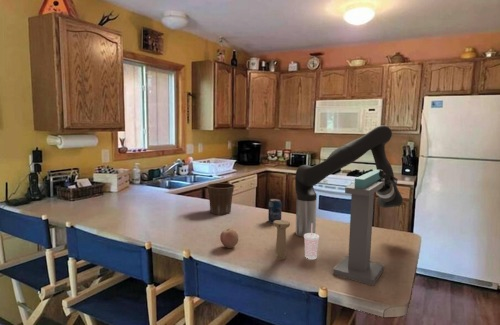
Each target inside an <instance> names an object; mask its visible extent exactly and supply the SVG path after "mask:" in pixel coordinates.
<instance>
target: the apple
mask: <svg viewBox="0 0 500 325" xmlns="http://www.w3.org/2000/svg"><path fill="white" fill-rule="evenodd" d="M219 236H220V242H221V244H222V246H224V247H225V248H228V249H232V248H233V247H235V246H236V245H237V244H238V243H239V234H238V232H237V230H235V229H234V228H231V227H230V228H227V229H225V230H223V231H221V233H220V235H219Z"/></svg>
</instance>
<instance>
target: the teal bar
mask: <svg viewBox="0 0 500 325" xmlns="http://www.w3.org/2000/svg"><path fill="white" fill-rule="evenodd" d="M382 171H383V170H382ZM367 172H368V173H367ZM367 172H366V173H364V174H362V175H360V176H358V177H356V178H354V183H355V186H354V187H356V188H365V187H367V186H369V185H370V184H372V183H374V182H376V181H377V180H379V179H381V178H380V176H379V170H377V168H376V169H373V171H371V172H369V171H367Z"/></svg>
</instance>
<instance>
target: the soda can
mask: <svg viewBox="0 0 500 325" xmlns="http://www.w3.org/2000/svg"><path fill="white" fill-rule="evenodd" d="M282 204H283V203H282V201H281V199H280V198H270V199H269V201H268V214H267V215H268V221H269V222H270V223H271V224H273V222H274V221H275V220H282Z"/></svg>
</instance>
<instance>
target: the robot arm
mask: <svg viewBox="0 0 500 325" xmlns="http://www.w3.org/2000/svg"><path fill="white" fill-rule="evenodd" d="M392 136H393V132H392V130H391V128H390V127H389V126H387V125H384V124H383V125H381V124H380V125H377V126H375V127H374V128H372V129H371V130H370V131H368V132H367V133H366V134H363V135H362V136H361V137H358V138H355V139H353V140H352V141H349V142H348V143H345V144H343V145H342V146H339V147H338V148H336V149H334V150H333V151H332V152H331V153H330V154H329V155H328V157H327V158H326V159H324V160H323V161H321V162H319V163H317V164H315V165H313V166H311V165H309V164H302V165H299V166H298V168H297V169H296V171H295V175H294V176H295V178H294V180H295V181H294V183H295V193H296V210H295V211H296V213H295V235H296V236H298V237H303V238H304V234H306V233H311V223H313V227H312V233H315V234H316V224H317V218H316V217H317V193H316V191H315V188H314V186H316V185H317V184H319V183H320V182H322V181H323V180H325V179H326V178H327V177H329V176H330V175H331V174H333V173H335V172H337V171H340V170H341V169H343V168H345V167H347V166H349V165H350V164H352V163H354V162H356V161H357V160H359V159H360V158H361V157H362V156H364V155H365V154H367V153H368V152H369V151H371V153H372V157H373V160H374V164H375V167H376V170H379V176H380V178H381V179H379V180H377V181H378V182H383V187H382V188H381V189H379V190H378V191H376V192H375V193H376V195H377V203H378V205H379V206H380V207H381V208H382V209H383V208H395V207H400V206H402V204H403V201H404V199H403V196H402V194H401V193H400V190H399V189H398V186H397V185H398V181H399V180H398V178H396V177H395V174H394V171H393V167H392V165H391V163H390V161H389V160H388V158H387V155H386V152H385V148H386V146H385V145H386V144H388V142H389V141H390V140H391V138H392ZM373 170H374V169H373V168H369V169H368V171H366V173H368V172H371V171H373ZM382 170H383V171H382Z"/></svg>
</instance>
